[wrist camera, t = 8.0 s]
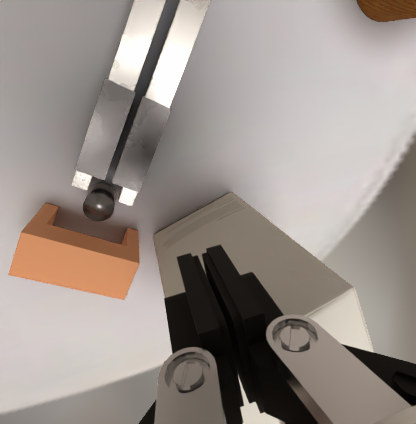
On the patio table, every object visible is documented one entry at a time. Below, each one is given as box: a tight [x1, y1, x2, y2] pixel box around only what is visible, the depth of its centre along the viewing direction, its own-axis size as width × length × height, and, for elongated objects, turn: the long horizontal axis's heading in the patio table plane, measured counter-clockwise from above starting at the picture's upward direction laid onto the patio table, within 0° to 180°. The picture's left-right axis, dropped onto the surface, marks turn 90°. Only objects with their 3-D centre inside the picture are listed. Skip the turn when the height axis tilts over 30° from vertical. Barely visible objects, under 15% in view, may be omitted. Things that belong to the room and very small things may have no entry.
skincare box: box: [153, 192, 374, 424], centre depth 20 cm, size 8×7×16 cm
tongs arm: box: [112, 0, 211, 206], centre depth 20 cm, size 17×2×3 cm, turn 155°
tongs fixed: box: [72, 0, 166, 221], centre depth 19 cm, size 19×3×3 cm, turn 155°
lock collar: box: [8, 203, 140, 300], centre depth 21 cm, size 3×7×5 cm, turn 65°
